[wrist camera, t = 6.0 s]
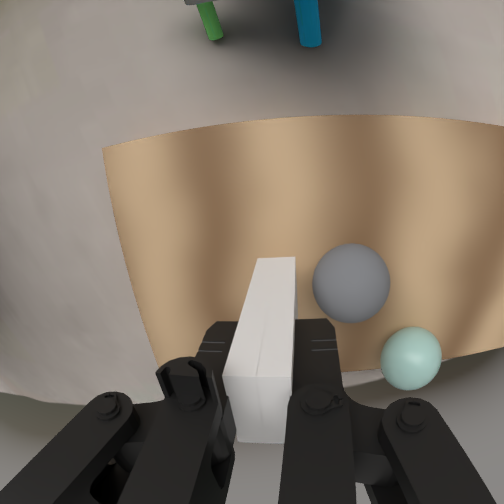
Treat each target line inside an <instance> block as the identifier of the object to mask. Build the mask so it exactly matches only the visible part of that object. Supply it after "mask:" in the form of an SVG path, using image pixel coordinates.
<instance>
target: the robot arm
mask: <svg viewBox="0 0 504 504" xmlns="http://www.w3.org/2000/svg"><path fill="white" fill-rule="evenodd" d="M156 376H157V379H158V381H159V384H160V386H161V389H162V391H163V394H164V396H165V399H164V400H162V401H157V402H151V403H141V404H133V403H132V401H131V399H130V398H129V397H128V396H127V395H125V394H124V393H120V392H106V393H103V394H101V395H98V396H97V397H95V398H94V399H93V400H91V401H90V402H89V403H88V404H87V405H86V406H85V407H84V408H83V409H82V410H81V411H80V412H79V413H78V414H77V415H76V416H75V417H74V418H73V419H72V420H71V421H70V422H69V423H68V424H67V425H66V426H65V427H64V428H63V429H62V430H61V431H60V432H59V433H58V434H57V435H56V436H55V437H54V438H53V439H52V440H51V441H50V442H49V443H48V444H47V445H46V446H45V447H44V448H43V449H42V450H41V451H40V452H39V453H38V454H37V455H36V456H35V457H34V458H33V459H32V460H31V461H30V462H29V463H28V464H27V465H26V466H25V467H24V468H23V469H22V470H21V471H20V472H19V473H18V474H17V475H16V476H15V477H14V478H13V479H12V480H11V481H10V482H9V483H8V484H7V485H6V486H5V487H4V488H3V489H2V490H1V491H0V504H225V501H226V497H227V493H228V488H229V484H230V479H231V475H232V470H233V465H234V461H235V452H234V448H233V444H234V439H235V434H236V435H237V439H238V442H247V443H268V444H284V453H283V464H282V473H281V482H280V491H279V500H278V504H356V486H355V482H358V483H364V486H365V488H366V491H367V494H368V496H369V499H370V501H371V504H496V502H495V500H494V499H493V497H492V495H491V494H490V492H489V490H488V488H487V487H486V485H485V483H484V482H483V481H482V479H481V477H480V475H479V474H478V472H477V470H476V469H475V467H474V466H473V464H472V463H471V461H470V459H469V458H468V456H467V455H466V453H465V451H464V450H463V448H462V447H461V446H460V444H459V442H458V441H457V439H456V437H455V436H454V435H453V433H452V432H451V430H450V429H449V427H448V425H447V424H446V423H445V421H444V420H443V418H442V417H441V415H440V414H439V412H438V411H437V409H436V408H435V407H434V406H432V404H430V403H429V402H427V401H424V400H422V399H419V398H411V397H409V398H404V399H399V400H397V401H395V402H393V403H391V404H390V405H389V406H388V407H387V409H379V408H373V407H368V406H364V405H361V404H358V403H357V402H355V401H353V400H352V399H351V398H350V397H348V395H347V394H346V393H345V391H344V388H343V385H342V377H341V369H340V361H339V354H338V346H337V341H336V332H335V327H334V326H333V325H332V324H331V322H330V321H329V320H328V319H327V318H317V319H298V303H297V278H296V258H295V257H276V258H258V259H257V262H256V265H255V269H254V272H253V275H252V279H251V282H250V285H249V289H248V292H247V295H246V299H245V302H244V305H243V308H242V312H241V315H240V318H239V321H216V322H215V323H214V324H213V325H212V326H211V327H210V328H209V329H207V330H206V333H205V335H204V337H203V340H202V343H201V344H200V347H199V349H198V352H197V354H196V356H195V357H192V356H189V357H179V358H176V359H173V360H170V361H168V362H166V363H165V364H163V365H162V366H161V367H160V368H159V369H158V370H157V371H156Z"/></svg>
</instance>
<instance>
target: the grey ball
mask: <svg viewBox="0 0 504 504" xmlns="http://www.w3.org/2000/svg"><path fill="white" fill-rule="evenodd" d="M312 289H313V294H314V297H315V300H316V302H317V304H318V306H319V307H320V309H321V310H322V311H323V312H324V313H325V314H326V315H328V316H329V317H330V318H332V319H334V320H336V321H339V322H343V323H359V322H362V321H365V320H367V319H369V318H371V317H373V316H374V315H375V314H376V313H378V312H379V311H380V309H381V308H382V307H383V305H384V304H385V302H386V300H387V298H388V295H389V291H390V274H389V271H388V268H387V266H386V264H385V262H384V260H383V259H382V258H381V256H380V255H379V254H378V253H377V252H375V251H374V250H373V249H371V248H369V247H367V246H364V245H361V244H354V243H350V244H343V245H339V246H337V247H335V248H333V249H331V250H330V251H328V252H327V253H326V254H325V255H324V256H323V257H322V258H321V259H320V261H319V262H318V264H317V266H316V268H315V270H314V274H313V279H312Z"/></svg>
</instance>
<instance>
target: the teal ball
mask: <svg viewBox="0 0 504 504" xmlns="http://www.w3.org/2000/svg"><path fill="white" fill-rule="evenodd" d="M441 359H442V352H441V347H440V344H439V342H438V340H437V338H436V337H435V336H434V335H433V334H432V333H431V332H430V331H428V330H426V329H424V328H421V327H414V326H413V327H406V328H403V329H401V330H399V331H397V332H395V333H394V334H393V335H392V336H391V337H390V338H389V339H388V340H387V342H386V343H385V345H384V347H383V349H382V352H381V358H380V365H381V370H382V373H383V375H384V377H385V378H386V380H387V381H388V382H389V383H390V384H391V385H393V386H394V387H396V388H399V389H402V390H415V389H418V388H421V387H423V386H424V385H426V384H427V383H429V382H430V381H431V380H432V379H433V378H434V376H435V375H436V374H437V372H438V370H439V367H440V364H441Z"/></svg>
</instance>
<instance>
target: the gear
mask: <svg viewBox="0 0 504 504" xmlns="http://www.w3.org/2000/svg"><path fill="white" fill-rule="evenodd" d="M184 1H185V4H186V5H195V4H196V5H197V8H198V10H199V13H200V16H201V18H202V21H203V24H204V27H205V29H206V32H207V35H208V38H209V40H217V39H220V38H221V37H223V32H222V29H221V26H220V23H219V20H218V17H217V14H216V11H215V8H214V5H213V2H212V1H216V0H184ZM294 5H295V11H296V18H297V24H298V31H299V38H300V44H301V45H302V46H305V47H316V46H319V45H321V43H322V40H321V29H320V19H319V9H318V1H317V0H294Z"/></svg>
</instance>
